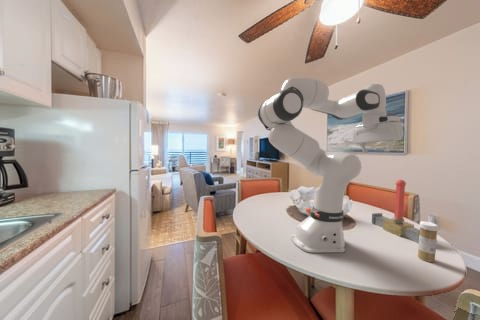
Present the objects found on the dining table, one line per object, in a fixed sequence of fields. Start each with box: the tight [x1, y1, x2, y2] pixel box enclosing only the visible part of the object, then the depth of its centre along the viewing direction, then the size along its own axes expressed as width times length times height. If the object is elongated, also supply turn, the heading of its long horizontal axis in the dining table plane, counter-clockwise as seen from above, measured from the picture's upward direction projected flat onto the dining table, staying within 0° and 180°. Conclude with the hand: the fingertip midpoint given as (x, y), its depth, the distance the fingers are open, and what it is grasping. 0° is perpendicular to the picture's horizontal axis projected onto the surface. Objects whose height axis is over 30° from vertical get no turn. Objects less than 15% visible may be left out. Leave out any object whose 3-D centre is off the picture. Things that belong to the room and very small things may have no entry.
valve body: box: [371, 212, 420, 245], centre depth 86 cm, size 8×22×5 cm, turn 13°
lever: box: [392, 179, 407, 222], centre depth 85 cm, size 4×4×21 cm
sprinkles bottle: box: [417, 220, 439, 263], centre depth 65 cm, size 5×5×14 cm
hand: (375, 152), depth 80 cm, fingers open, 8 cm apart
